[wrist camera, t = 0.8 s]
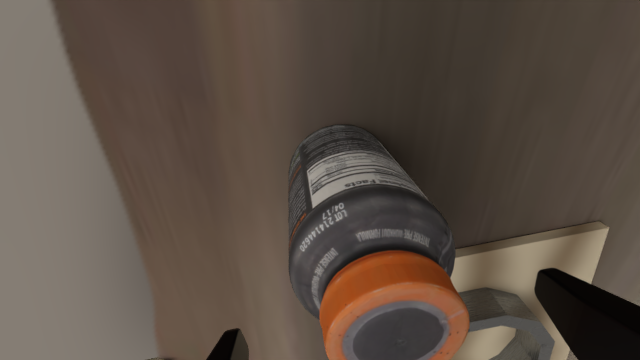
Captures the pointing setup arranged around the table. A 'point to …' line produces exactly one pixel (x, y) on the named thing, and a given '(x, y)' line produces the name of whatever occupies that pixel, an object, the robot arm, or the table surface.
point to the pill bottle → (370, 252)
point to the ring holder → (520, 291)
